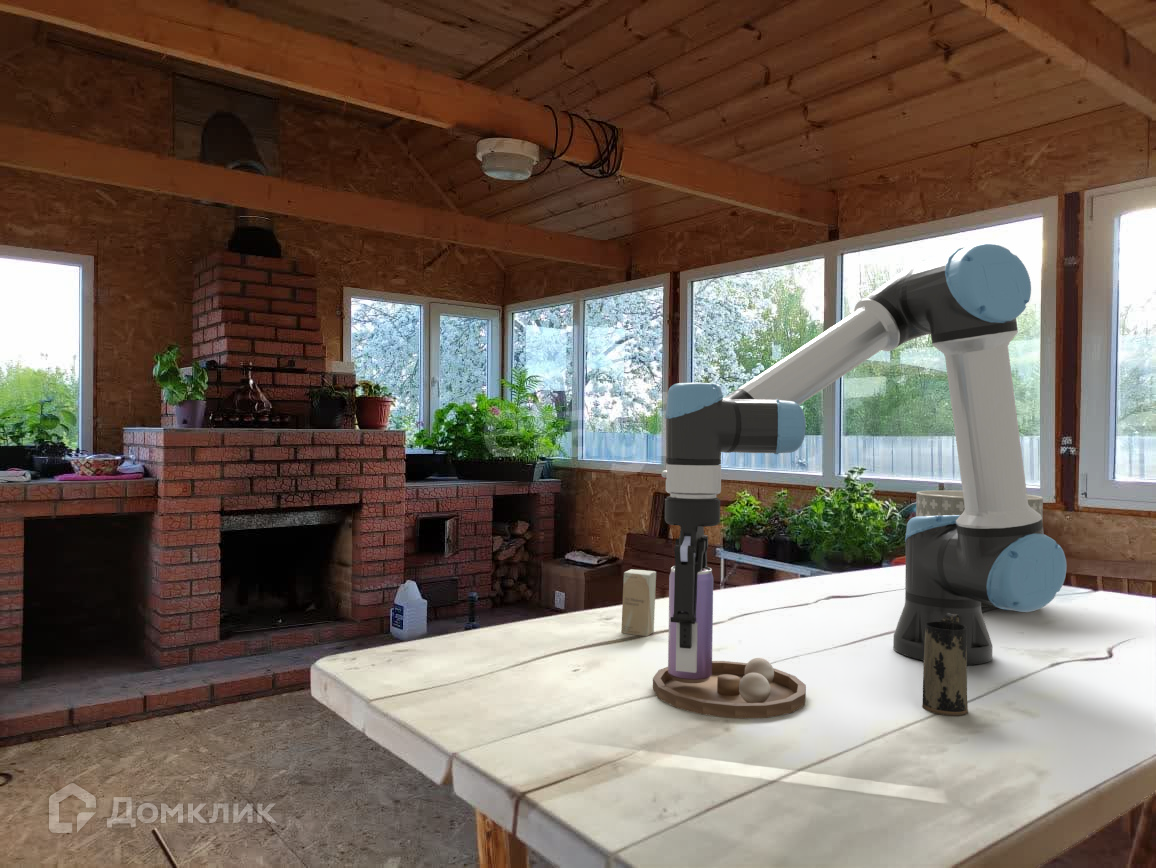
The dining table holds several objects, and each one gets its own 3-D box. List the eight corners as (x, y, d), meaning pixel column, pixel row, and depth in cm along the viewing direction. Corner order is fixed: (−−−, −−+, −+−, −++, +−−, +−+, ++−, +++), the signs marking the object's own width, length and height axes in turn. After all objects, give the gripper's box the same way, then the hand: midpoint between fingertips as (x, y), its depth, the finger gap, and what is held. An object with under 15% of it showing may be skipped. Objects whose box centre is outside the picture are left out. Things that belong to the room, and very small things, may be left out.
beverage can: (710, 685, 109) (712, 572, 109) (666, 682, 110) (667, 570, 110) (712, 673, 115) (714, 566, 115) (670, 670, 116) (671, 564, 116)
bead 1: (774, 684, 115) (775, 656, 115) (772, 693, 111) (773, 663, 111) (745, 681, 116) (746, 653, 116) (742, 690, 112) (743, 660, 112)
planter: (1066, 615, 168) (1068, 499, 169) (943, 613, 169) (945, 497, 169) (1004, 592, 194) (1006, 491, 194) (897, 590, 194) (899, 489, 194)
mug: (963, 719, 105) (964, 625, 105) (917, 710, 108) (918, 619, 108) (974, 703, 111) (976, 615, 111) (931, 695, 114) (932, 609, 114)
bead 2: (771, 701, 108) (771, 670, 108) (768, 710, 104) (769, 679, 104) (740, 697, 109) (740, 667, 109) (736, 707, 105) (737, 675, 105)
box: (620, 633, 147) (621, 571, 147) (628, 628, 151) (629, 568, 151) (648, 636, 145) (649, 574, 145) (655, 631, 149) (656, 570, 149)
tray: (807, 686, 118) (807, 665, 118) (802, 734, 98) (803, 709, 98) (669, 672, 123) (669, 652, 123) (639, 715, 104) (639, 691, 104)
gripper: (677, 490, 123) (675, 645, 123) (651, 499, 105) (648, 681, 105) (728, 492, 120) (726, 649, 120) (710, 501, 102) (707, 687, 102)
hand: (690, 664), depth 113 cm, fingers closed on beverage can, 6 cm apart
